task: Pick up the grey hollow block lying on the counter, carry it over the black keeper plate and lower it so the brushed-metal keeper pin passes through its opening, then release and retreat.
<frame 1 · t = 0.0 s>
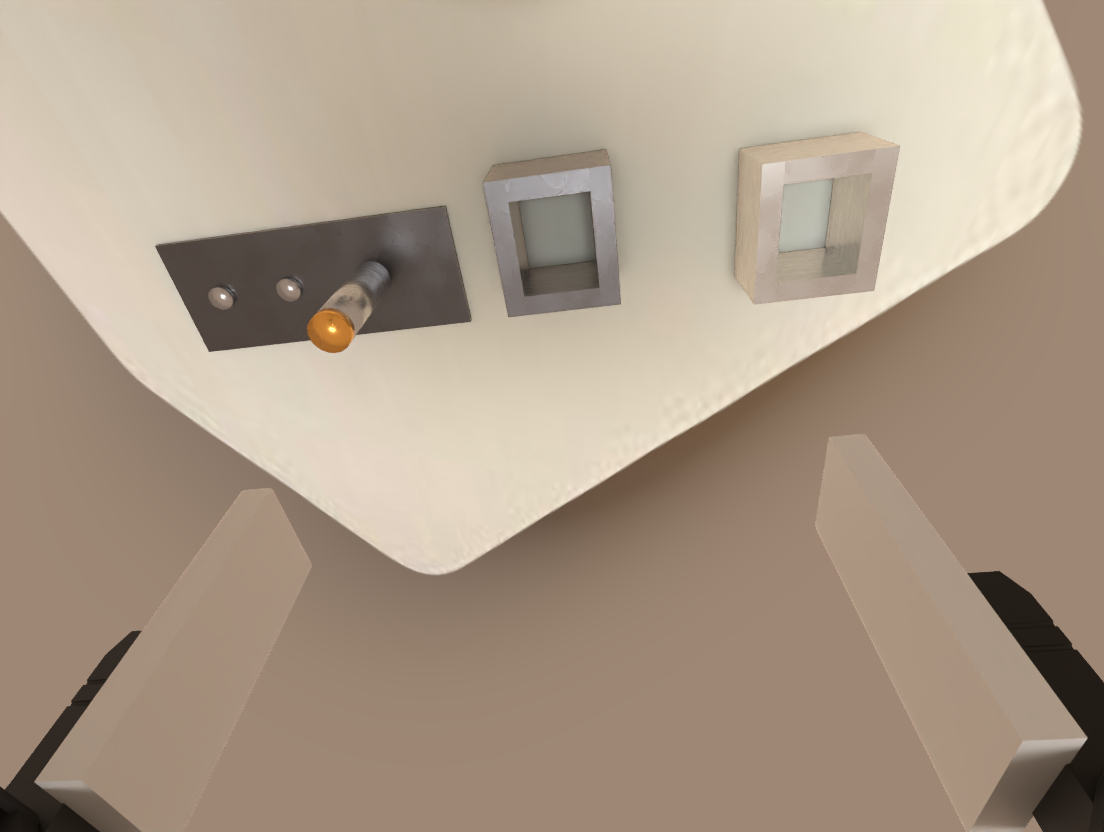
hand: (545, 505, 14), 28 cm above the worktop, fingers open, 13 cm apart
grey hollow block: (557, 223, 38), on the worktop
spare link: (793, 208, 37), on the worktop
keeper: (374, 276, 40), on the worktop
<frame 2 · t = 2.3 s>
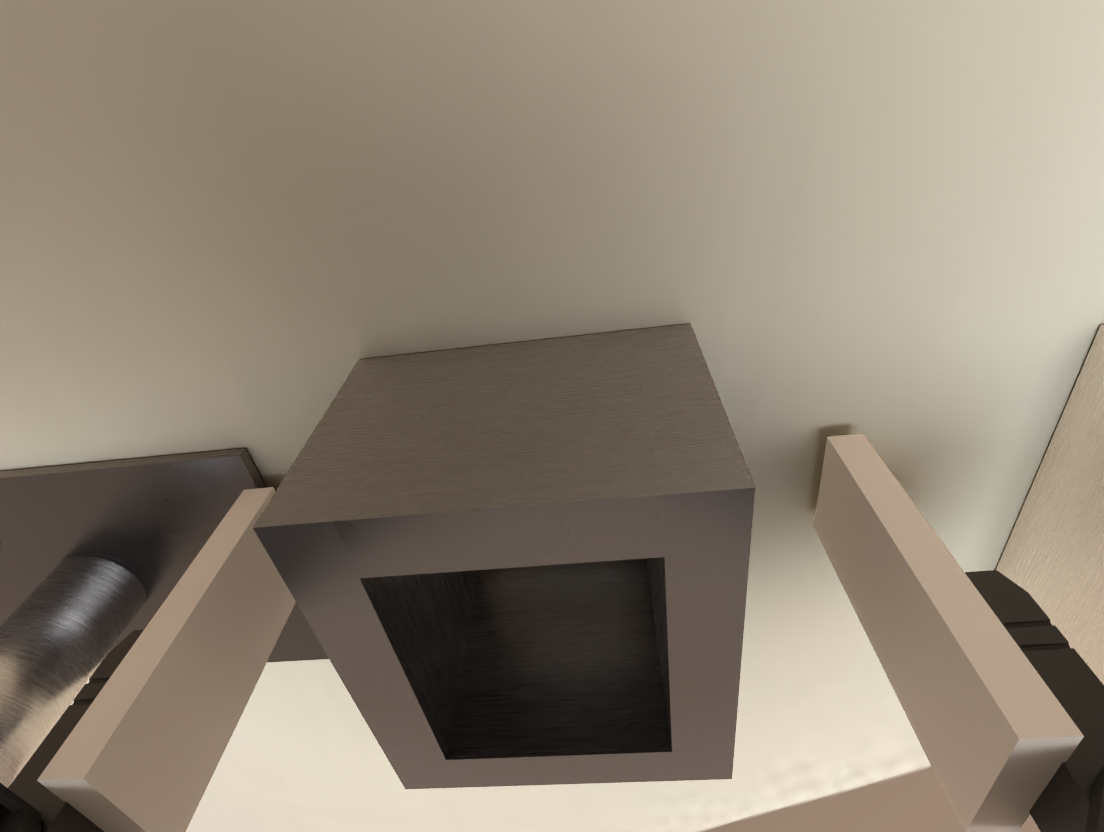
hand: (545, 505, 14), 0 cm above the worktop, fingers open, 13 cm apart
grey hollow block: (546, 487, 14), on the worktop
keeper: (108, 576, 17), on the worktop
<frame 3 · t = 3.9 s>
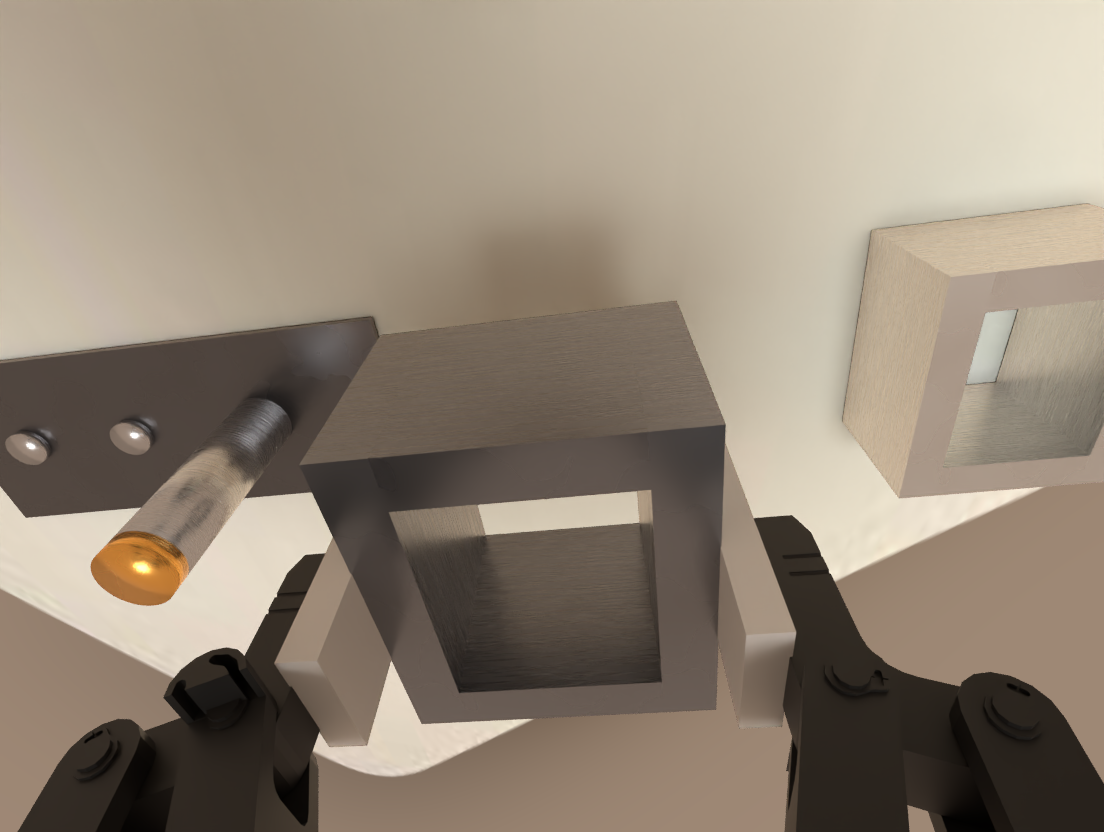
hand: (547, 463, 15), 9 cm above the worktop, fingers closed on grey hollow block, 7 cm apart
grey hollow block: (548, 454, 16), point 8 cm above the worktop, touching gripper
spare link: (951, 324, 22), on the worktop
keeper: (266, 417, 25), on the worktop
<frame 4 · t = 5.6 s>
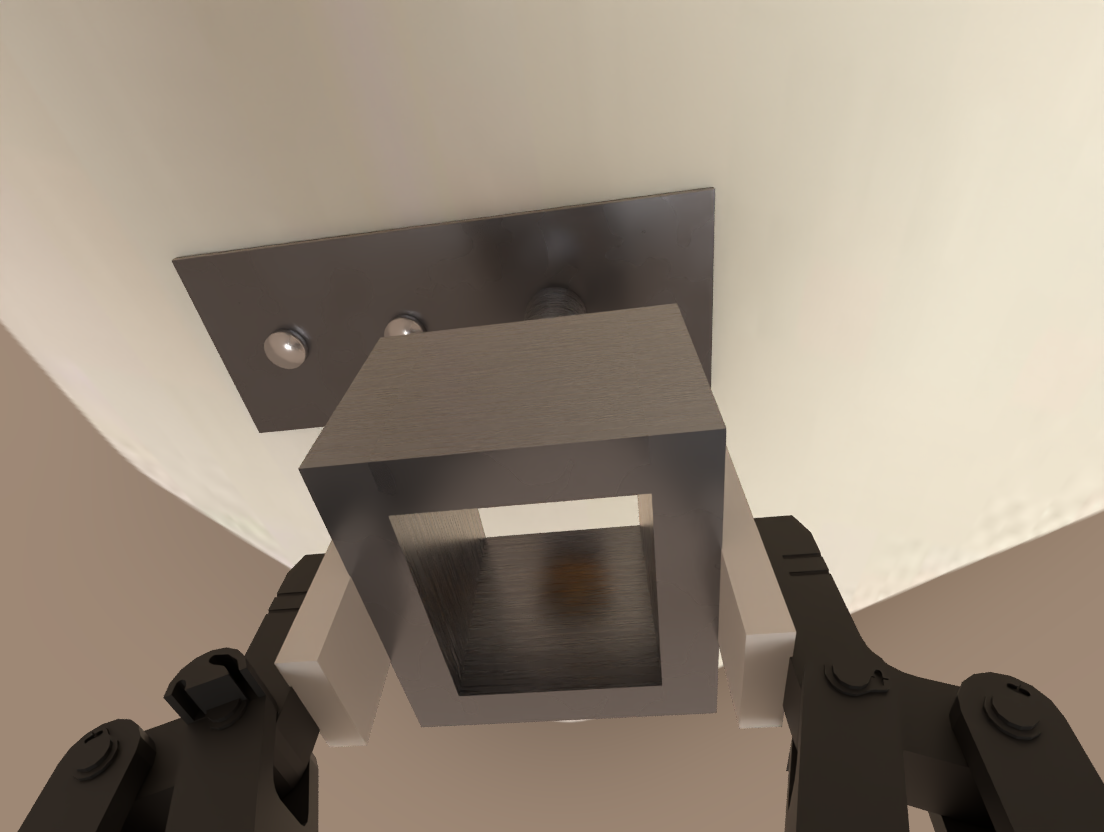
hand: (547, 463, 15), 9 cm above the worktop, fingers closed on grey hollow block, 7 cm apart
grey hollow block: (548, 456, 16), point 9 cm above the worktop, touching gripper
keeper: (556, 313, 23), on the worktop
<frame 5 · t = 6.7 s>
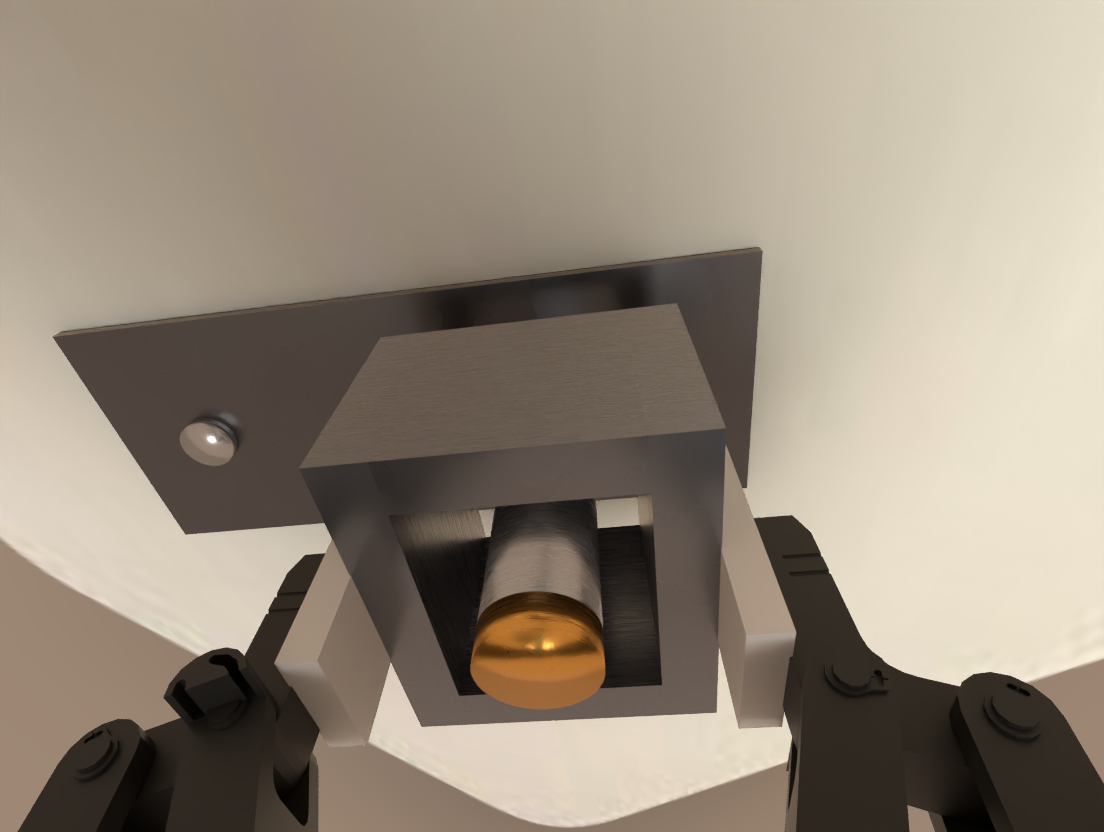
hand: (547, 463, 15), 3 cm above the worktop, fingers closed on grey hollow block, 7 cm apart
grey hollow block: (548, 456, 16), point 3 cm above the worktop, touching gripper
keeper: (551, 399, 18), on the worktop
when the fingers open (2 cm above the worktop, at t = 7.4 s): grey hollow block stays where it is, resting on keeper.
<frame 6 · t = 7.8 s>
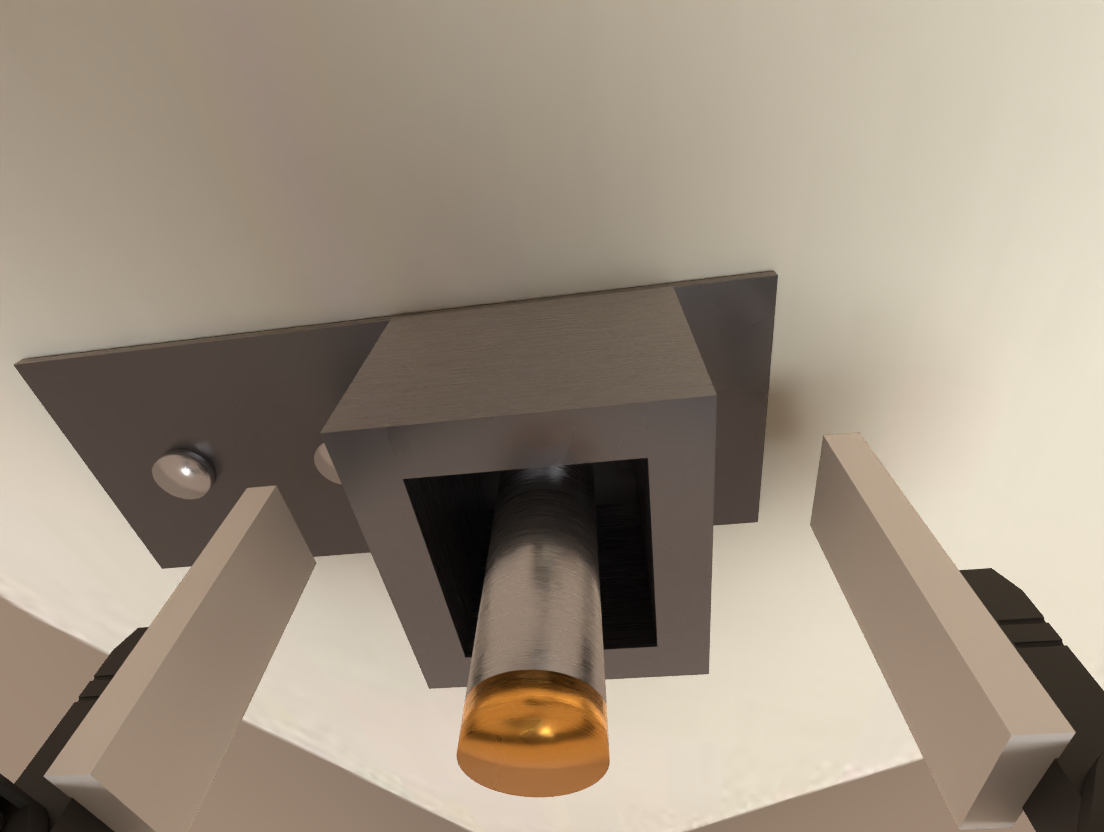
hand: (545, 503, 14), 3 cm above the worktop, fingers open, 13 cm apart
grey hollow block: (550, 434, 16), resting on keeper
keeper: (549, 430, 17), on the worktop
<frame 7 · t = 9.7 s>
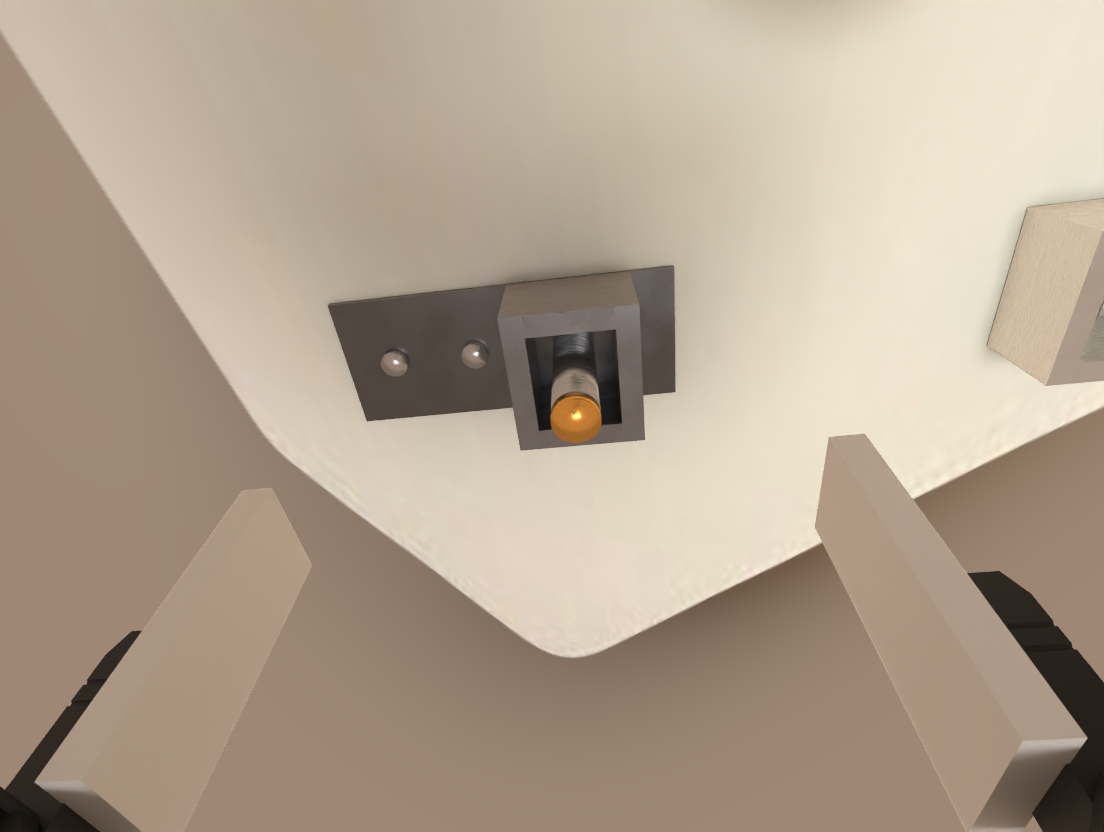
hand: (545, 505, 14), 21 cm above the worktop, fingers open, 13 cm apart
grey hollow block: (574, 343, 35), resting on keeper
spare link: (1072, 273, 32), on the worktop
keeper: (573, 341, 35), on the worktop
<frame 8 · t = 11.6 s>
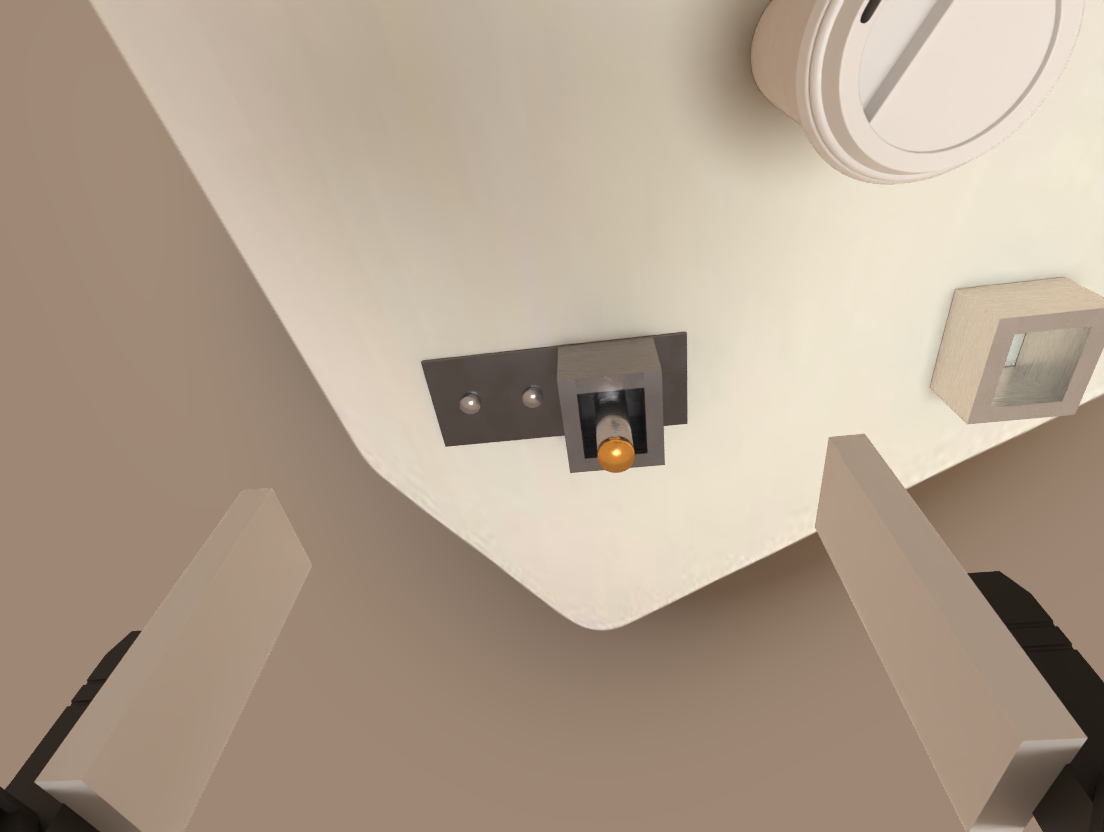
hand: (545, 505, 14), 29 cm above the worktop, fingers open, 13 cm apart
grey hollow block: (609, 388, 45), resting on keeper
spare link: (992, 335, 42), on the worktop
coffee cup: (808, 44, 33), on the worktop
keeper: (608, 386, 45), on the worktop
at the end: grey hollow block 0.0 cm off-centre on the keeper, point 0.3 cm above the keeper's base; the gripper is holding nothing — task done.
